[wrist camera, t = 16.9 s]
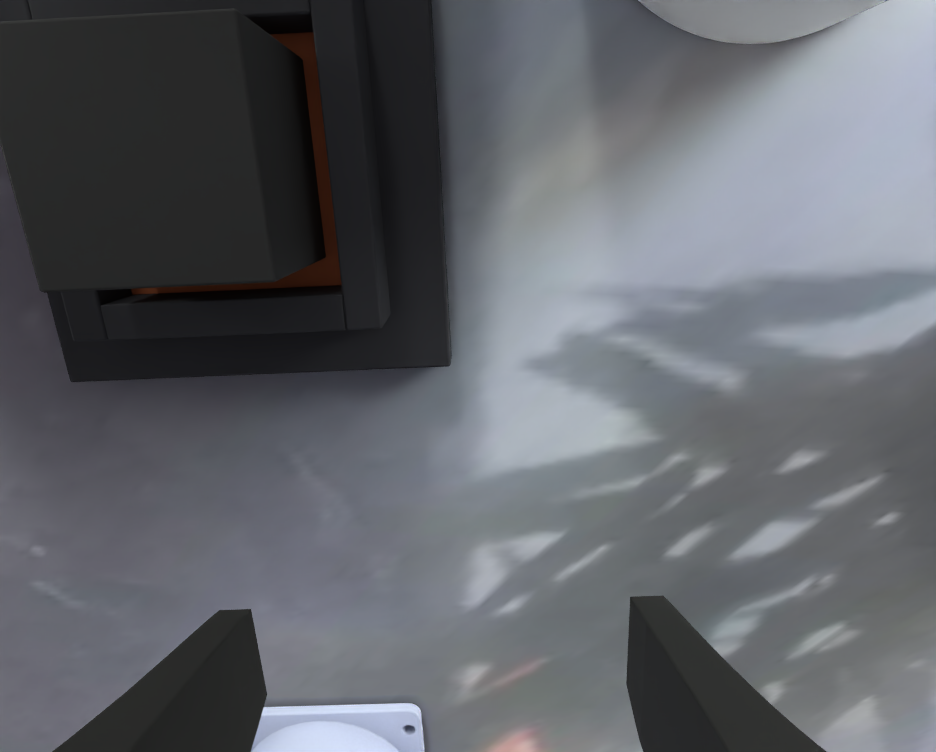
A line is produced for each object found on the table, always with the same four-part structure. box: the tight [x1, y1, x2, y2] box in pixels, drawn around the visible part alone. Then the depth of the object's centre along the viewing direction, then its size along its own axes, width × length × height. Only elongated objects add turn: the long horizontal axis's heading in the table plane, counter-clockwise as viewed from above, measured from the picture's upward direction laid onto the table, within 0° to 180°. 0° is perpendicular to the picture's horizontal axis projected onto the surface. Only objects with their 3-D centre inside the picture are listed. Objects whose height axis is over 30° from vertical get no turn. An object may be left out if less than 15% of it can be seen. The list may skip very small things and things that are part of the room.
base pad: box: [0, 0, 451, 382], centre depth 16 cm, size 12×12×3 cm
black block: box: [0, 8, 326, 293], centre depth 14 cm, size 5×5×5 cm
